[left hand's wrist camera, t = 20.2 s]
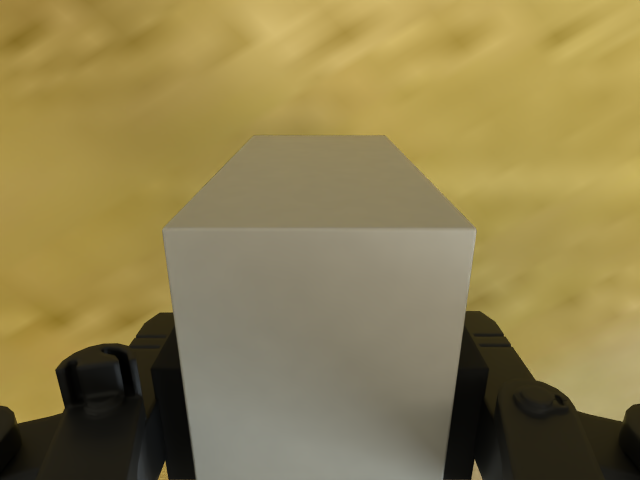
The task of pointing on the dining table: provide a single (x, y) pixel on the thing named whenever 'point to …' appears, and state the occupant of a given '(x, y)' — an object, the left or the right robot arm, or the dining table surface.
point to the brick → (319, 312)
